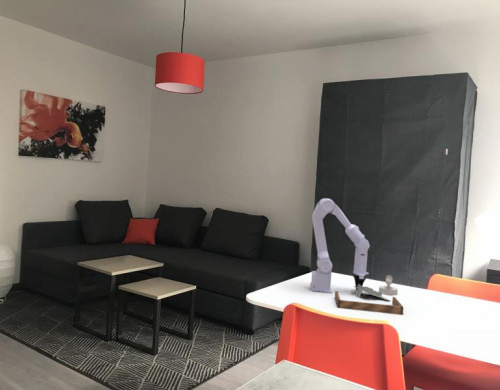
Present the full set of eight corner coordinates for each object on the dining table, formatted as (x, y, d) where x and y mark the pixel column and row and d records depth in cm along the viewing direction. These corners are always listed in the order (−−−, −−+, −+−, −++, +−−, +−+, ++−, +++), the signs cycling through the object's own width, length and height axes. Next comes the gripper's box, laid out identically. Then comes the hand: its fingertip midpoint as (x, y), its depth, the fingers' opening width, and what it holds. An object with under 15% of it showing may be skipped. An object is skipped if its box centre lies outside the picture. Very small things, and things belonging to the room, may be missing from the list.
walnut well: (337, 307, 172) (338, 300, 171) (334, 297, 187) (335, 291, 187) (402, 314, 168) (403, 307, 168) (394, 303, 184) (395, 297, 184)
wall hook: (379, 274, 200) (380, 271, 210) (378, 294, 200) (379, 289, 210) (398, 276, 197) (398, 273, 207) (397, 296, 198) (397, 292, 207)
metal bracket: (367, 288, 185) (351, 280, 199) (363, 301, 184) (347, 292, 199) (394, 298, 188) (376, 289, 203) (390, 310, 188) (372, 300, 203)
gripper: (371, 266, 191) (369, 295, 192) (366, 261, 206) (364, 288, 206) (355, 264, 192) (353, 294, 193) (352, 259, 207) (350, 286, 207)
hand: (358, 291), depth 199 cm, fingers closed
